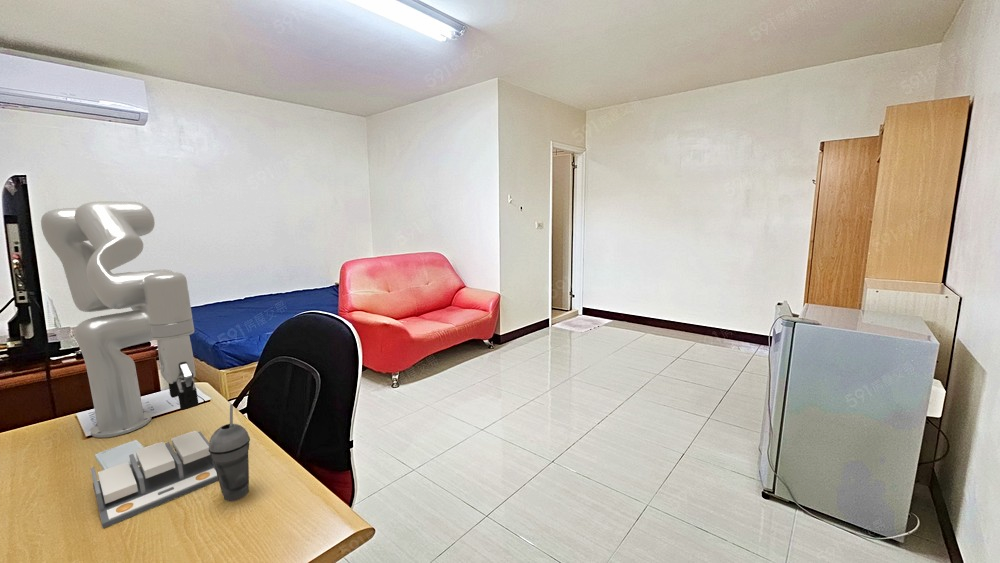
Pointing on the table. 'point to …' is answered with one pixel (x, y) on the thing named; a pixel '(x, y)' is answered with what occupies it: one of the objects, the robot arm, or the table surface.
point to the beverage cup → (231, 459)
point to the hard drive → (118, 455)
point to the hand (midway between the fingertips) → (184, 401)
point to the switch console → (156, 487)
